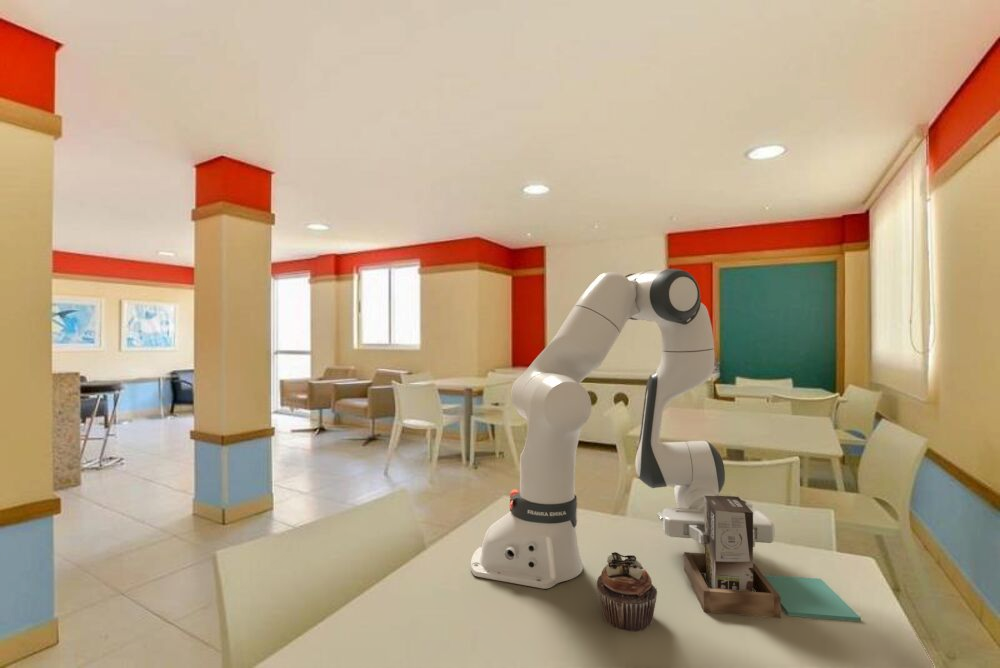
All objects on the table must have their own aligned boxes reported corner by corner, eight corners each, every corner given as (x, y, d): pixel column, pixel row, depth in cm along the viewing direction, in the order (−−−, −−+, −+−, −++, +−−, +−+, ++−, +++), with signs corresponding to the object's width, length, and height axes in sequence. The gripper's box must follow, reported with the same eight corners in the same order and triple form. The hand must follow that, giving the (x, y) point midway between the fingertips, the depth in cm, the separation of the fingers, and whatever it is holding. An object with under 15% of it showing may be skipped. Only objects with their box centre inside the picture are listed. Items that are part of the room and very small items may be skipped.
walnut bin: (703, 611, 82) (703, 590, 82) (684, 569, 97) (684, 552, 97) (780, 618, 80) (780, 596, 80) (748, 574, 95) (748, 556, 95)
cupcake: (663, 637, 75) (663, 571, 75) (599, 632, 76) (599, 568, 76) (651, 603, 84) (651, 545, 85) (594, 599, 86) (594, 542, 86)
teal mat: (787, 615, 81) (787, 611, 81) (758, 577, 94) (758, 574, 94) (860, 621, 79) (860, 617, 79) (820, 581, 92) (820, 578, 92)
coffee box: (754, 607, 83) (754, 512, 83) (714, 603, 84) (714, 510, 85) (739, 581, 92) (739, 495, 92) (703, 577, 93) (703, 493, 94)
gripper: (655, 496, 104) (668, 520, 90) (758, 501, 101) (787, 527, 87) (655, 526, 104) (668, 554, 90) (758, 532, 101) (787, 562, 87)
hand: (727, 541), depth 88 cm, fingers closed on coffee box, 6 cm apart
